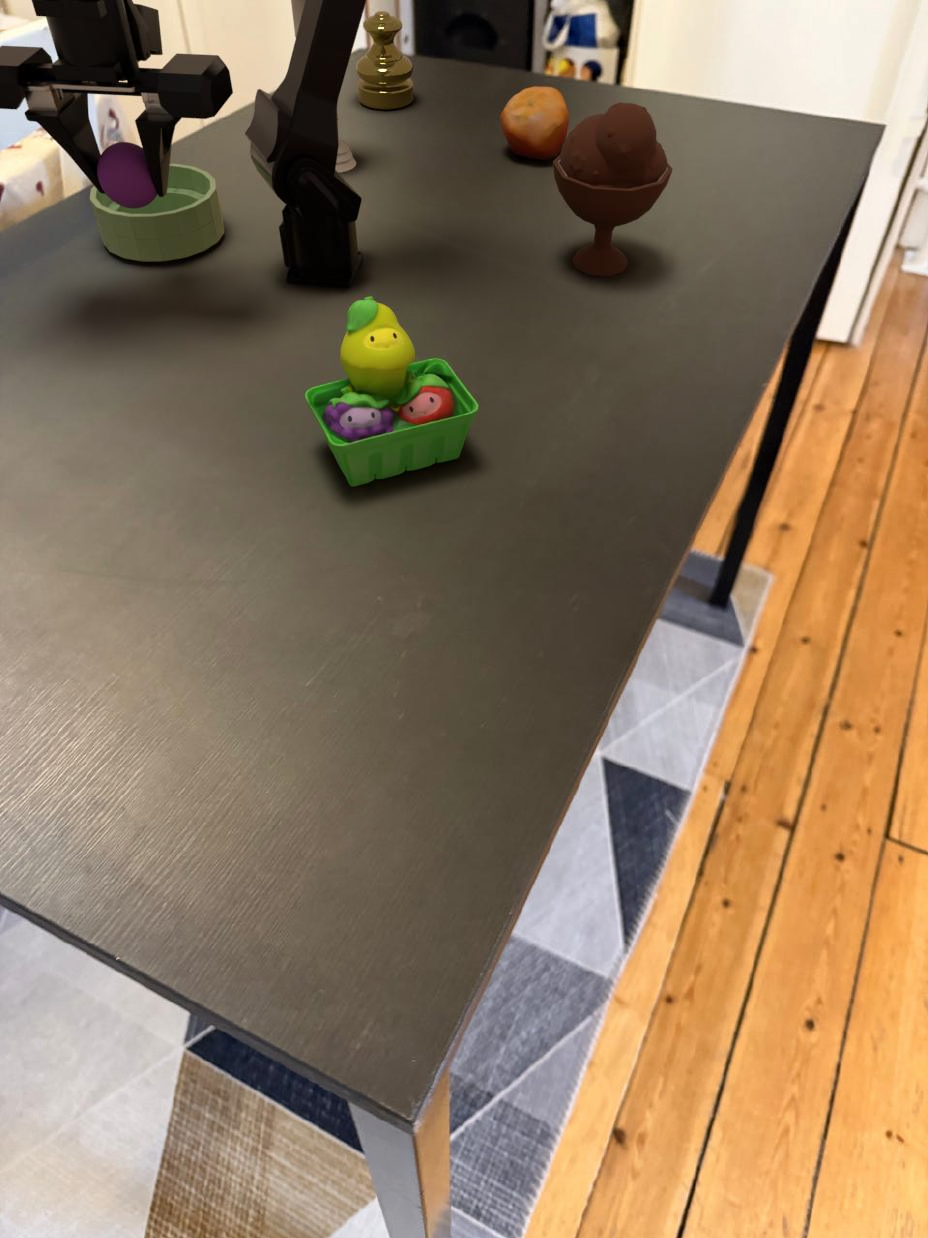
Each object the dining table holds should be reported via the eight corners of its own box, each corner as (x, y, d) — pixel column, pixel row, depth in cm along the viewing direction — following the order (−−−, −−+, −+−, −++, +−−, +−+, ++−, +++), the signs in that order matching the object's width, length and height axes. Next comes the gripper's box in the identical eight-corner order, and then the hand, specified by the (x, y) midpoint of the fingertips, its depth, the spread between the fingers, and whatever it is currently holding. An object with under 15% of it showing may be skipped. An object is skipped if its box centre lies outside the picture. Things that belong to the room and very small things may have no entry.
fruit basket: (340, 503, 65) (323, 369, 57) (305, 434, 71) (285, 303, 62) (481, 464, 68) (485, 333, 60) (437, 402, 74) (435, 272, 65)
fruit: (587, 131, 108) (577, 79, 101) (557, 185, 108) (545, 136, 100) (529, 117, 111) (516, 65, 104) (500, 170, 110) (484, 121, 103)
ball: (174, 194, 78) (160, 133, 74) (155, 220, 75) (139, 158, 71) (119, 191, 78) (102, 130, 75) (98, 216, 75) (79, 154, 71)
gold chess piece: (352, 108, 116) (345, 19, 109) (365, 88, 121) (360, 2, 114) (407, 112, 116) (404, 23, 108) (418, 92, 121) (416, 6, 113)
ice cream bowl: (666, 249, 92) (696, 89, 81) (633, 299, 85) (660, 132, 74) (569, 228, 95) (585, 70, 83) (530, 275, 88) (542, 110, 77)
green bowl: (240, 215, 96) (231, 167, 92) (202, 271, 88) (191, 220, 84) (132, 207, 97) (119, 159, 93) (84, 261, 89) (68, 211, 85)
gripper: (232, -52, 69) (265, 160, 80) (1, -60, 70) (67, 149, 82) (187, -11, 61) (231, 215, 73) (-70, -21, 63) (13, 203, 74)
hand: (134, 193), depth 76 cm, fingers closed on ball, 5 cm apart
